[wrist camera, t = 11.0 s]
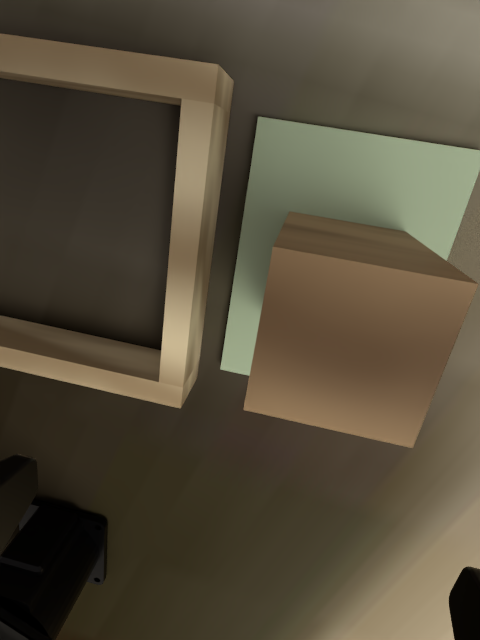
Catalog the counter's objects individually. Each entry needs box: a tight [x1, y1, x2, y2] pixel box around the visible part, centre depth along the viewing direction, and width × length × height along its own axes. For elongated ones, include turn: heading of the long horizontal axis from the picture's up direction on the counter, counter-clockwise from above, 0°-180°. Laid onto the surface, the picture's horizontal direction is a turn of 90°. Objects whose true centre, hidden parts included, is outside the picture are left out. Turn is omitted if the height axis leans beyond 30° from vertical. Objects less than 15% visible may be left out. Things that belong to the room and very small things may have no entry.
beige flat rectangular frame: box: [0, 33, 234, 408], centre depth 19 cm, size 14×18×3 cm
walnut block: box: [243, 211, 478, 448], centre depth 14 cm, size 5×5×8 cm
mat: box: [220, 117, 480, 376], centre depth 18 cm, size 12×9×1 cm
